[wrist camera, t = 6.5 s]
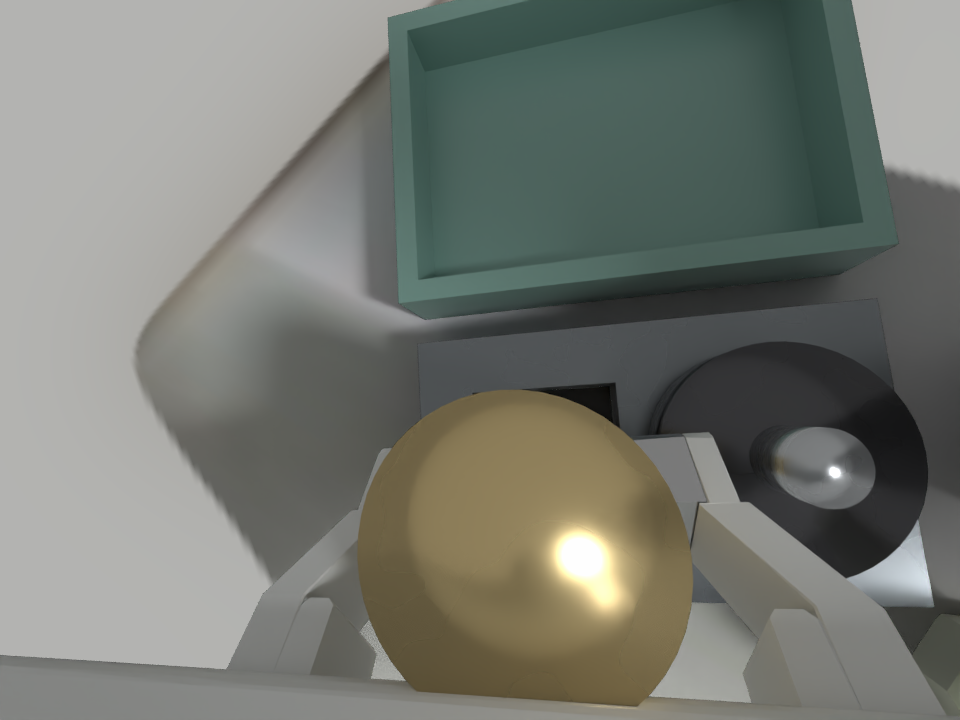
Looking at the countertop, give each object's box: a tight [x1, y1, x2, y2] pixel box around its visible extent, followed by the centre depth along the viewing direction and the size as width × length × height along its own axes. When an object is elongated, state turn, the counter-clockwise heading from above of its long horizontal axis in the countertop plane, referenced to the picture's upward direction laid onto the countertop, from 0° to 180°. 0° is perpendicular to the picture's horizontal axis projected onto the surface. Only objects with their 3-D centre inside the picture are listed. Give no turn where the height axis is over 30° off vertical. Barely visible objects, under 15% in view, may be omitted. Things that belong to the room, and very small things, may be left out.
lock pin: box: [357, 390, 693, 707], centre depth 11 cm, size 4×4×12 cm
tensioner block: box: [418, 298, 934, 608], centre depth 14 cm, size 15×9×6 cm, turn 93°
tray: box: [388, 0, 899, 320], centre depth 17 cm, size 16×12×3 cm
